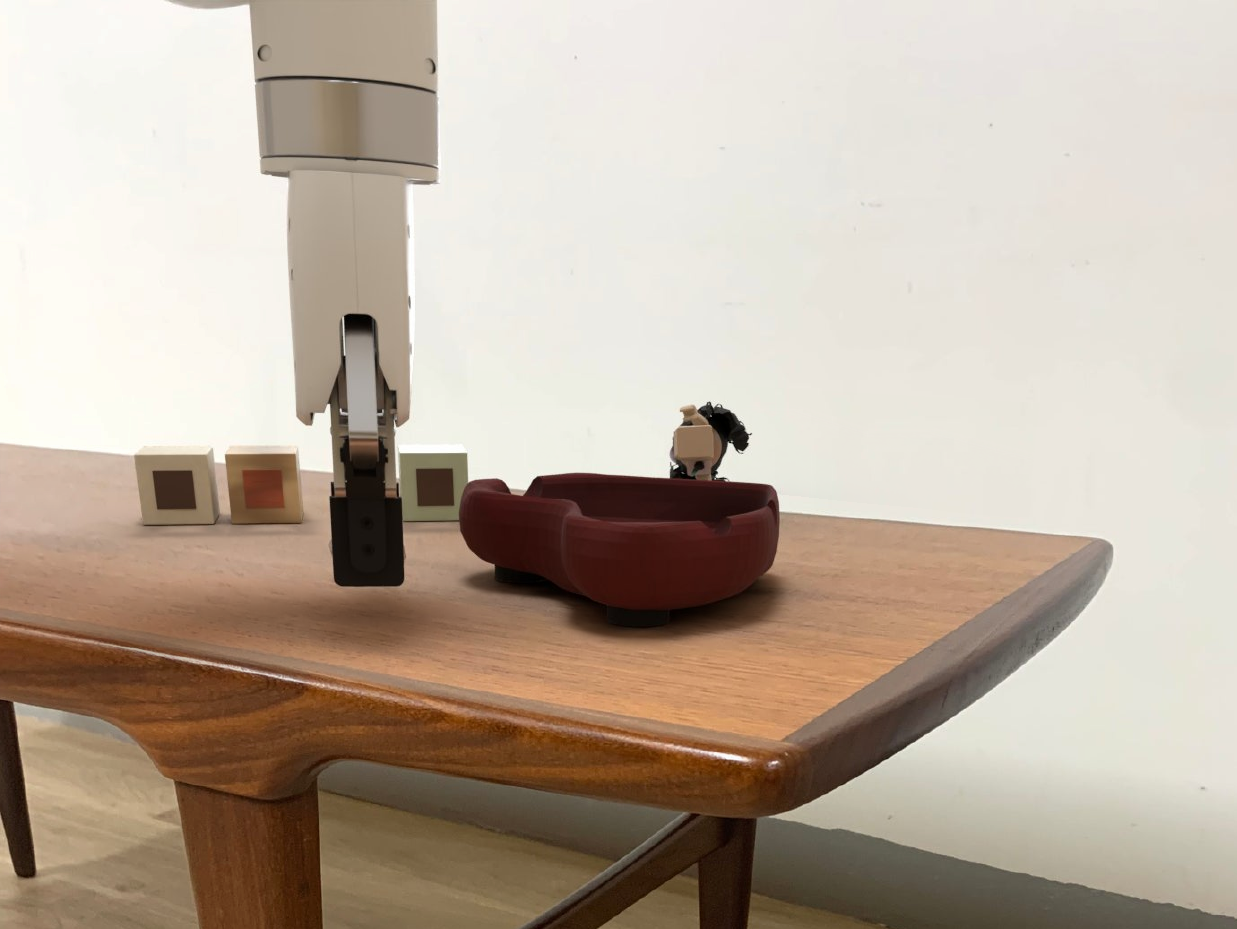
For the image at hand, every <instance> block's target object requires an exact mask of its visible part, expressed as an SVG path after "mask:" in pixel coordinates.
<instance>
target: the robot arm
mask: <svg viewBox="0 0 1237 929" xmlns="http://www.w3.org/2000/svg"><path fill="white" fill-rule="evenodd" d="M164 1H165V2H168V3H170V4H172V5H176V6H179V7H183V8H189V9H192V10H193V9H194V10H203V11H204V10H206V11H207V10H225V9H232V8H240V7H244V6H249V18H250V20H249V21H250V34H251V45H252V46H251V47H252V48H251V49H252V61H253V62H252V63H253V75H254V76H253V77H254V83H255V84H254V93H255V107H256V110H255V111H256V124H257V137H258V139H257V140H258V153H259V158H260V159H259V169H260V171H259V172H260V173H261V175H265V176H271V177H277V178H285V179H287V183H286V184H287V185H286V186H287V187H286V247H287V248H286V249H287V250H286V251H287V270H288V272H287V273H288V288H289V290H288V291H289V307H290V322H291V324H290V325H291V341H292V357H293V358H292V359H293V375H294V394H295V398H294V399H295V416H296V418H297V419H298V420H299V421H300V422H301V423H302V424H303V425H305V427H306V426H308V427H309V426H310V427H311V426H313V424H314V420H315V416H316V414H325V412H326V409H327V406H328V405H329V412H330V428H329V433H330V435H331V451H332V454H331V455H332V473H333V481H330V495H329V498H328V499H329V516H330V533H331V534H330V535H331V536H330V537H331V539H332V555H333V558H332V572H333V573H332V574H333V581H334V584H336V585H337V586H339V587H341V588H343V587H344V588H364V587H365V588H369V587H370V588H375V587H376V588H377V587H378V588H385V587H386V588H389V587H391V588H394V587H395V588H397V587H400V586H402V585H403V584H404V582H405V560H404V547H405V546H404V547H403V545H404V521H403V516H402V497H400V482H397V467H396V466H397V464H396V438H395V437H396V433H397V430H396V428H400V427H401V426H403V425H404V424H405V423H407V422H408V421H409V420H410V415H411V414H410V413H411V402H412V392H413V391H412V390H413V389H412V388H413V376H414V375H413V371H414V356H415V354H414V350H415V316H416V314H415V310H416V308H415V307H416V306H415V304H416V302H415V301H416V300H415V298H416V296H415V293H416V292H415V239H414V238H415V233H414V232H415V231H414V229H415V228H414V193H413V192H414V191H413V186H430V185H434V186H435V185H440V184H441V182H442V181H441V180H442V179H441V139H440V138H441V137H440V136H441V135H440V134H441V133H440V131H441V130H440V97H439V57H438V56H439V55H438V54H439V53H438V47H439V46H438V0H164ZM395 427H396V428H395Z"/></svg>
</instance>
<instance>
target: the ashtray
mask: <svg viewBox="0 0 1237 929" xmlns="http://www.w3.org/2000/svg"><path fill="white" fill-rule="evenodd" d="M780 518H781V517H780V501H779V497H778V492H777V490H776V489H775V487H774V486H773V485H771V484H769V483H768V484H767V483H758V482H744V481H743V482H742V481H730V480H729V481H728V480H725V481H713V480H694V479H675V478H670V477H655V476H654V477H652V476H651V477H650V476H639V475H623V474H605V473H597V472H596V473H595V472H565V473H558V474H556V473H555V474H544V475H537V476H536V477H535V478H533V479H532V481H531V483H530V484H529V486H528V487H527V489H526V491H525V493H523V495H519V494H513V493H512V492H511V490H510V487H509V486H508V485H507V483H506V482H505V481H504V480H503V479H501V478H481V479H480V478H479V479H474V480H470V481H468V484H467V485H466V486H465V488H464V491H463V494H462V496H461V502H460V507H459V532H460V533H461V536H462V538H463V540H464V542H465V544H466V546H467V548H468V549H469V550H470V551H471V552H472V553H473V554H474V555H475V556H476V557H477V558H478V559H480V560H481V561H483V562H485V563H488V564H491V565H494V579H495V580H497V581H501V582H503V583H504V582H505V583H510V584H511V583H512V584H514V583H515V584H531V583H532V584H535V583H540V582H545V581H549V582H551V583H553V584H555V585H556V586H557V587H559V588H561V589H563V590H565V591H567V592H570V593H572V594H576V595H580V596H585V597H586V598H588V599H590V600H592V601H593V602H597V603H599V604H602V605H606V620H607V621H608V622H609V623H611V624H614V625H617V626H623V627H632V628H633V627H634V628H647V627H648V628H649V627H657V626H661V625H665V624H667V623H669V621H670V614H671V612H670V611H671V610H681V609H682V610H683V609H687V608H694V607H699V606H704V605H708V604H712V603H715V602H718V601H721V600H725V599H728V598H732V597H733V596H735V595H738V594H740V593H742V592H744V591H745V590H746V589H748V588H749V587H751V586H752V584H753V583H755V582H756V581H757V580H758V579H759V578H761V577H763V575H765V574H766V573H767V572H769V571H770V569H771V568H772V566H773V565H774V562H775V558H776V555H777V552H778V545H779V538H780V523H781V522H780V521H781V520H780Z"/></svg>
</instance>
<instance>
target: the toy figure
mask: <svg viewBox="0 0 1237 929" xmlns="http://www.w3.org/2000/svg"><path fill="white" fill-rule="evenodd" d="M679 413H682V414H683V418H682V422H681V424H680V425H679V426H677V428H676V429H675V430H674V431H673V436H672V445H671V447H670V449H669V458H670V460H671V461H670V462H669V467H670V468H669V478H675V479H694V480H713V481H730V479H729V478H727V477H724V476H722V477H716V476H717V475H719V471H718V469H719V467H721V464H722V460H723V458H724V457H725V455H726V454H727V451H728V447H729V444H732V446H733V448H734V450H735V452H737V453H738V454H741V455H742V454H744V452H745V451H746V449H747V448H748V447H749V445H750V443H749V442H748V441H749V440H750V436H752V435H753V433H752V432H750V433H748V432H747V429H746V426H745V424H744V422H743V421H741V420H739V418H738V416H737V415H736V413H734V412H732V411H731V410H730V409H727V408H726V407H725V408H724V407H723V405H722V404H720V403H717V404H715V405H714V406H713V405H712V402H711V401H707V402H706V404H705V405H702V406H701V407H699V408H698V409H697V406H696V405H694V404H689V405H685V406H681V407H680V408H679ZM672 462H673V463H674V464H673V465H672ZM675 466H676V467H675ZM674 467H675V468H674Z"/></svg>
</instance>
